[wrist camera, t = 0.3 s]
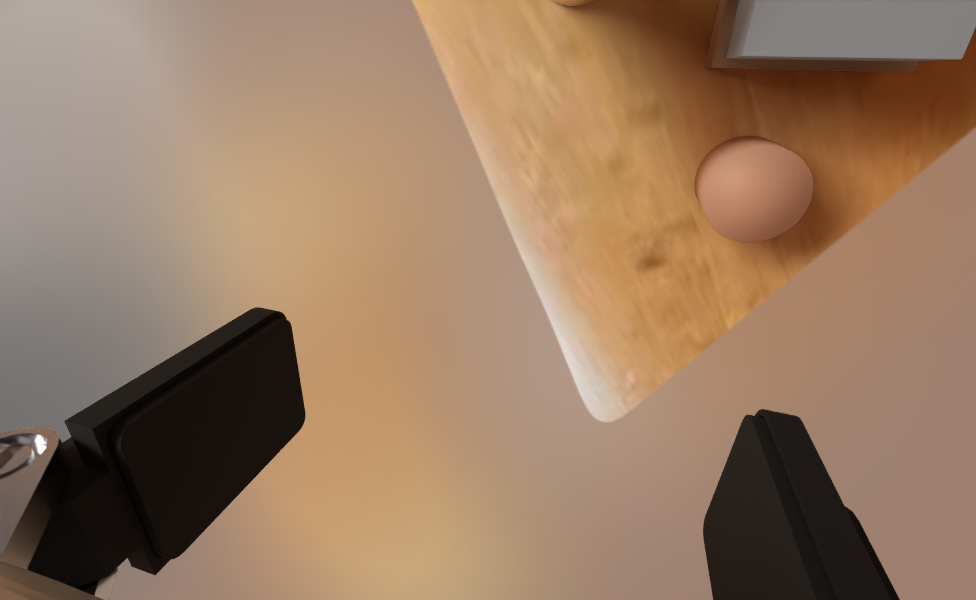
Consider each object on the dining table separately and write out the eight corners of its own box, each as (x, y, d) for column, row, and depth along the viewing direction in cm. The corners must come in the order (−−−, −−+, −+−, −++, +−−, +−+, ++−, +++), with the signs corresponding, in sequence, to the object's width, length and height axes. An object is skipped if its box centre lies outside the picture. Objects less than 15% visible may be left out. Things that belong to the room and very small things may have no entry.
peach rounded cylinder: (705, 132, 32) (716, 142, 28) (801, 138, 31) (829, 149, 26) (686, 216, 35) (693, 236, 30) (773, 225, 33) (794, 247, 29)
